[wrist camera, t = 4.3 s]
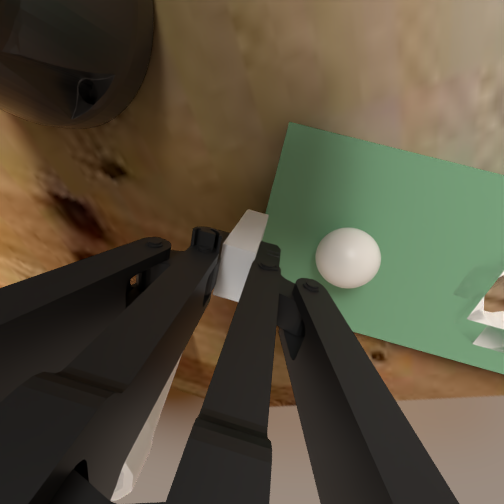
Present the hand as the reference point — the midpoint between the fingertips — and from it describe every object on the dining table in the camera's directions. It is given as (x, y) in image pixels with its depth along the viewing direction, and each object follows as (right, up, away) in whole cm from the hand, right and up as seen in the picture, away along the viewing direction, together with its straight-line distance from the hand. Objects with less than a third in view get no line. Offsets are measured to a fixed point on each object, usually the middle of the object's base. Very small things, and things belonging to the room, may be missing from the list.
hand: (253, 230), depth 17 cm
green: (+14, -2, +3) cm, 14 cm away
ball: (+6, -2, -1) cm, 7 cm away
